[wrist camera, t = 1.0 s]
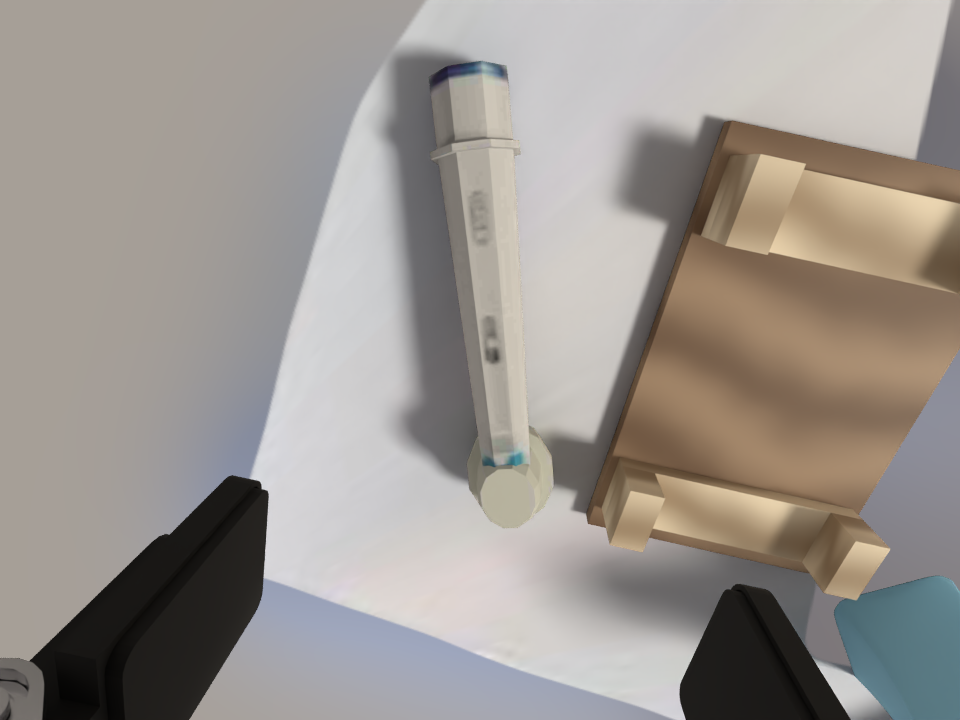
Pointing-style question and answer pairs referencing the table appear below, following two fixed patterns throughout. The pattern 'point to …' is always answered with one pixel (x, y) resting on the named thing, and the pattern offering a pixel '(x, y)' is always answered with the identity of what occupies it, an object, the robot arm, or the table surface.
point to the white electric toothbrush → (489, 285)
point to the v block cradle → (788, 356)
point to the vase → (907, 647)
